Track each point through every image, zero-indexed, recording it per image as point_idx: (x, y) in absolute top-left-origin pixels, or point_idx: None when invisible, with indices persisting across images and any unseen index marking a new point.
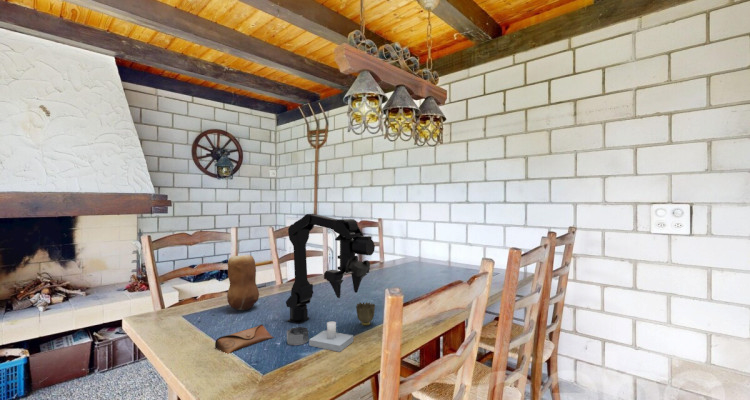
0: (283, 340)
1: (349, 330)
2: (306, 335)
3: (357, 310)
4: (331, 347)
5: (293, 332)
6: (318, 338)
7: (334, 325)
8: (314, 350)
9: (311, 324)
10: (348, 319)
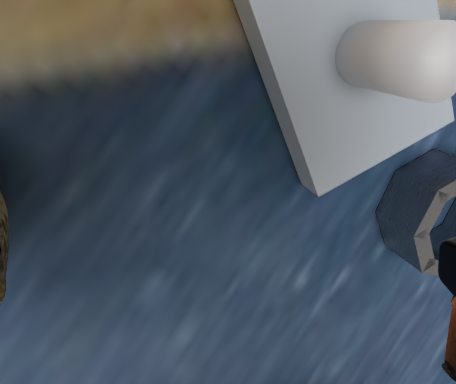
0: None
1: (124, 168)
2: (438, 174)
3: (6, 261)
4: None
5: None
6: (416, 100)
7: (433, 20)
8: None
9: (254, 367)
10: (13, 353)
